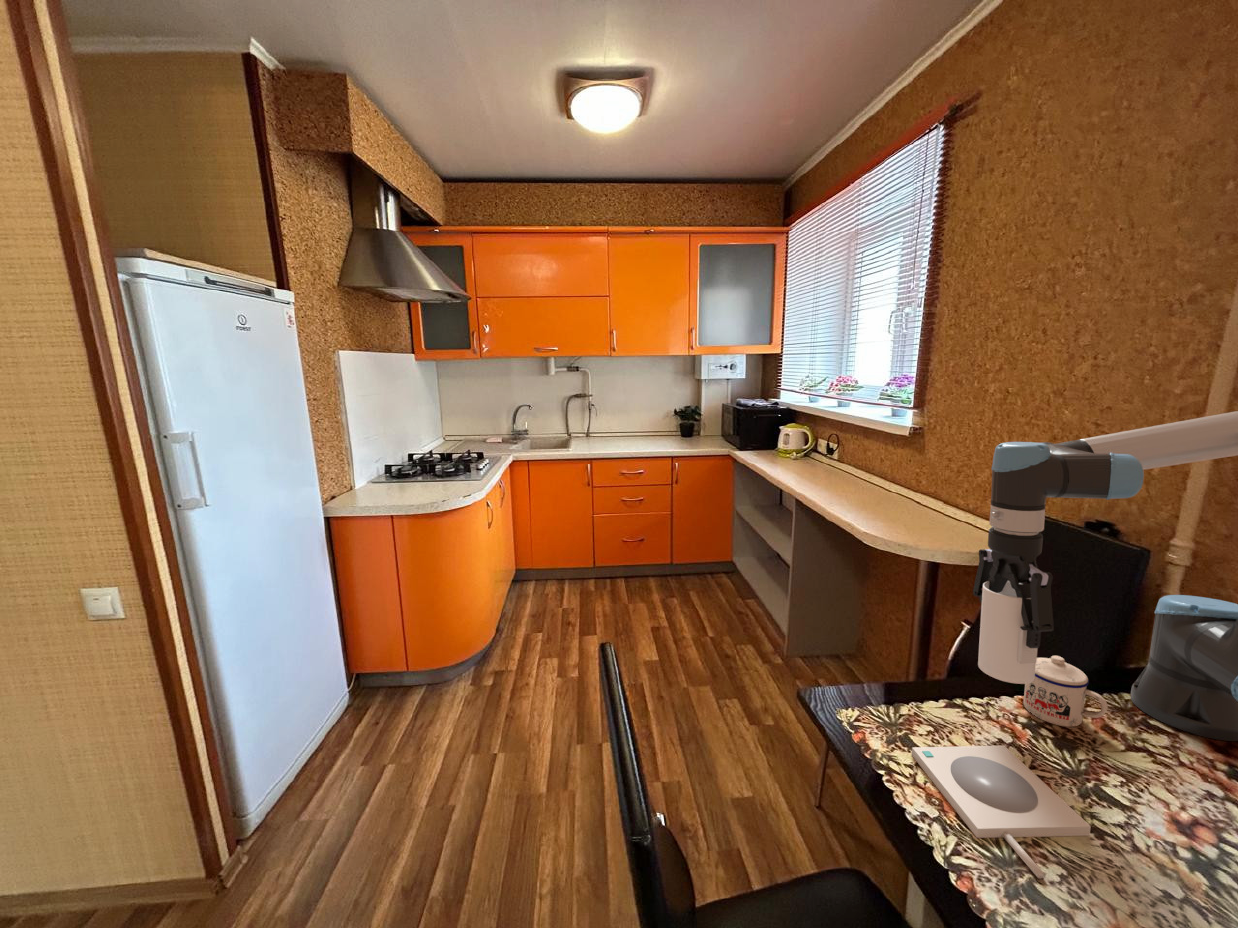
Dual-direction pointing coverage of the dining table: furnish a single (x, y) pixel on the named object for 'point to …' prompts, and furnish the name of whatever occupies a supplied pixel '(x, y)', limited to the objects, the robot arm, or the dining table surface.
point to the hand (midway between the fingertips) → (1007, 648)
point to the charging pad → (999, 795)
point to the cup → (1002, 636)
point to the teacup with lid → (1059, 693)
